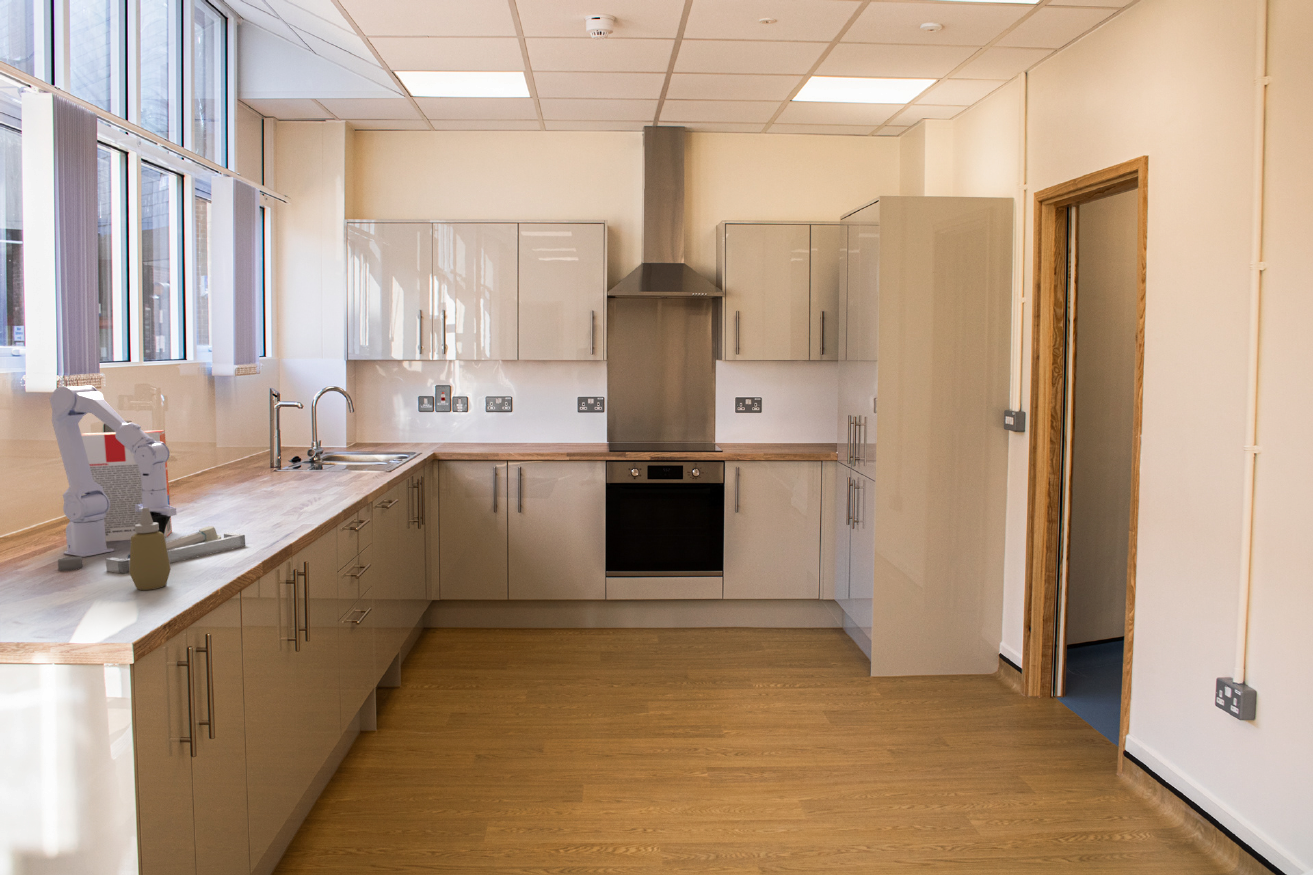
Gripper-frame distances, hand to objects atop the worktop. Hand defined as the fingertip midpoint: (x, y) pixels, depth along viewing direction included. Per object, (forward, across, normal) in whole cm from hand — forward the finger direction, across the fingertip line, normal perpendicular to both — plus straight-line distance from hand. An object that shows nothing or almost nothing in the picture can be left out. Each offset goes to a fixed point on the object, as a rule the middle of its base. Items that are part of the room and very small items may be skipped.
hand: (157, 540), depth 234 cm
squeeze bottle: (+4, +31, -21) cm, 37 cm away
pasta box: (+4, -30, +9) cm, 32 cm away
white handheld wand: (+4, +8, 0) cm, 9 cm away
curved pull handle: (+4, +9, 0) cm, 10 cm away
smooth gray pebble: (+4, -5, -19) cm, 20 cm away
